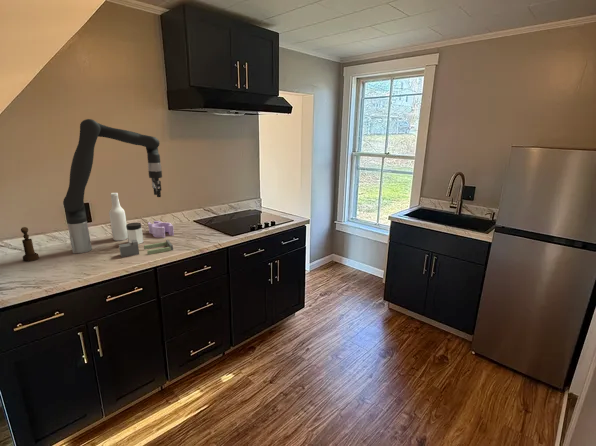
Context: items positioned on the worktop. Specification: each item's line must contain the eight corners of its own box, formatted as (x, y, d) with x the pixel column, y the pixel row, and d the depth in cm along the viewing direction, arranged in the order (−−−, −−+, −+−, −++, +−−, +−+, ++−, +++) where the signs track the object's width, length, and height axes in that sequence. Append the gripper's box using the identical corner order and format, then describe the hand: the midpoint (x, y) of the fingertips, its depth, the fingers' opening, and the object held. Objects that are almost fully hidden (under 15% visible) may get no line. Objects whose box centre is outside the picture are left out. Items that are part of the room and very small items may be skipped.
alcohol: (118, 241, 198) (111, 194, 190) (110, 239, 202) (102, 193, 194) (131, 237, 206) (125, 192, 197) (122, 235, 209) (116, 191, 201)
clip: (144, 233, 216) (142, 223, 214) (160, 229, 226) (159, 219, 224) (160, 239, 205) (159, 228, 203) (177, 234, 215) (176, 224, 213)
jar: (137, 239, 203) (135, 221, 200) (146, 241, 200) (144, 223, 196) (125, 243, 195) (122, 225, 192) (134, 245, 192) (131, 226, 189)
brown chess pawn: (37, 256, 174) (30, 224, 169) (40, 259, 170) (33, 227, 165) (22, 259, 169) (14, 227, 164) (24, 262, 165) (17, 230, 160)
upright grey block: (121, 257, 174) (119, 244, 172) (120, 254, 178) (118, 242, 176) (139, 254, 179) (137, 241, 177) (137, 251, 183) (136, 239, 181)
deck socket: (147, 254, 178) (147, 249, 178) (144, 248, 187) (143, 243, 187) (173, 250, 186) (172, 245, 185) (168, 244, 195) (168, 239, 194)
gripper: (146, 169, 197) (148, 194, 202) (150, 171, 186) (153, 198, 191) (158, 168, 202) (161, 193, 206) (164, 171, 190) (166, 197, 195)
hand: (157, 195), depth 198 cm, fingers open, 8 cm apart
